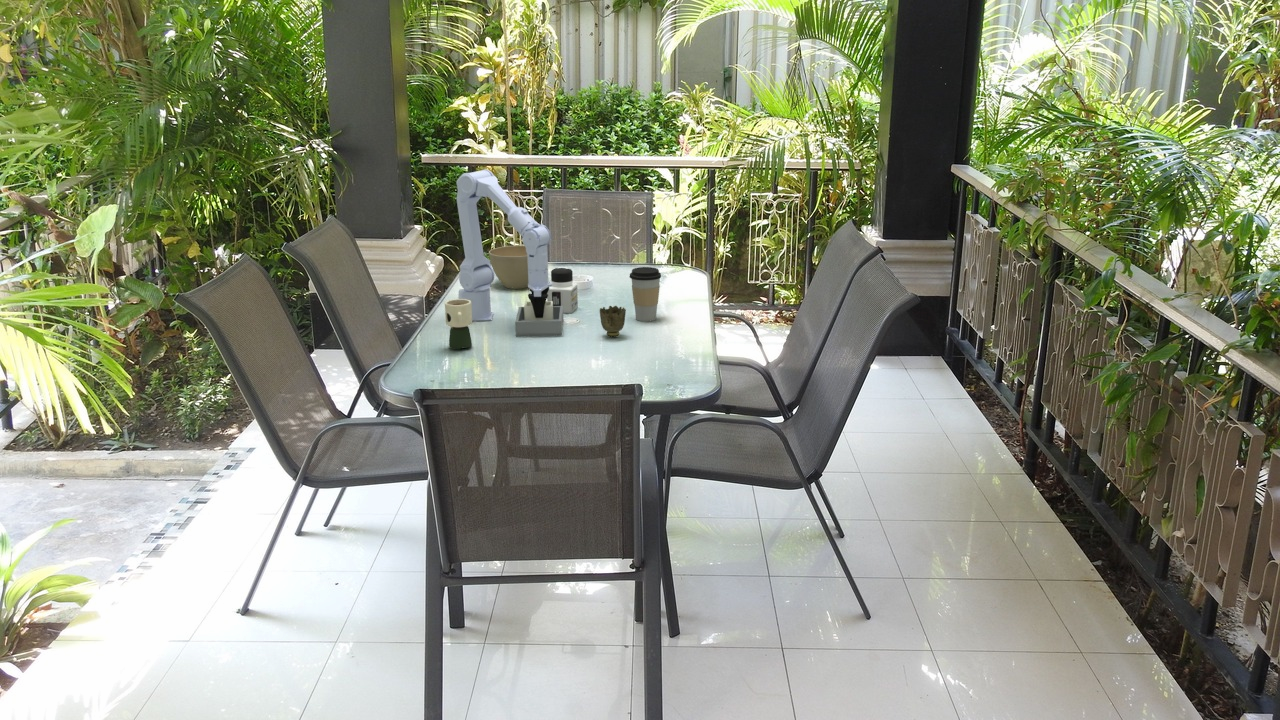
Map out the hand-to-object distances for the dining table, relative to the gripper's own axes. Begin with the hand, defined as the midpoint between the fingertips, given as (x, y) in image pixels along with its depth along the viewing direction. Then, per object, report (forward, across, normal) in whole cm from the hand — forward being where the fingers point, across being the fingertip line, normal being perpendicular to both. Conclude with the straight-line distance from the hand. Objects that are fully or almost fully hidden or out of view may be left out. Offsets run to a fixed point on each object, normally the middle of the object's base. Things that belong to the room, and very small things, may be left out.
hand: (539, 314), depth 309 cm
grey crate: (+4, 0, 0) cm, 4 cm away
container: (+4, +20, -6) cm, 21 cm away
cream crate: (+3, 0, 0) cm, 3 cm away
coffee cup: (+4, +8, -31) cm, 32 cm away
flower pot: (+4, +51, +10) cm, 52 cm away
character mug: (+4, -17, +21) cm, 27 cm away
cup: (+4, -9, -21) cm, 23 cm away
